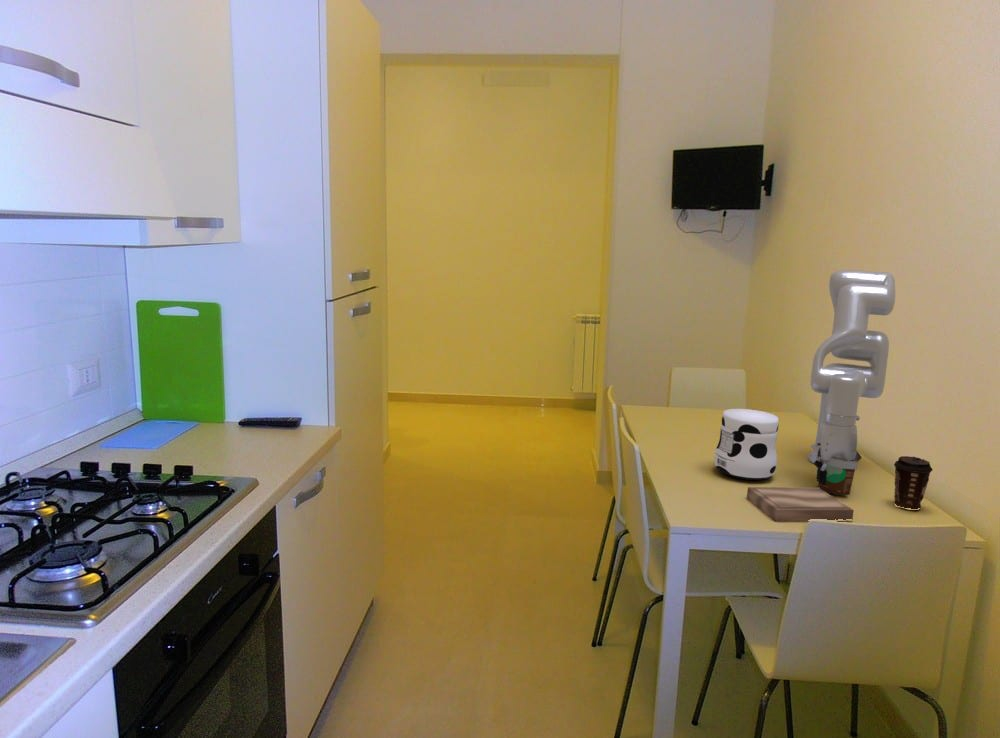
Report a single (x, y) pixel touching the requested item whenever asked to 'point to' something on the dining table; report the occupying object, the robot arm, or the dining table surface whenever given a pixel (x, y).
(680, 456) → the dining table surface
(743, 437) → the milk container
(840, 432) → the robot arm
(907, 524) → the dining table surface
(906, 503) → the coffee cup
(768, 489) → the board
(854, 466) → the food container
